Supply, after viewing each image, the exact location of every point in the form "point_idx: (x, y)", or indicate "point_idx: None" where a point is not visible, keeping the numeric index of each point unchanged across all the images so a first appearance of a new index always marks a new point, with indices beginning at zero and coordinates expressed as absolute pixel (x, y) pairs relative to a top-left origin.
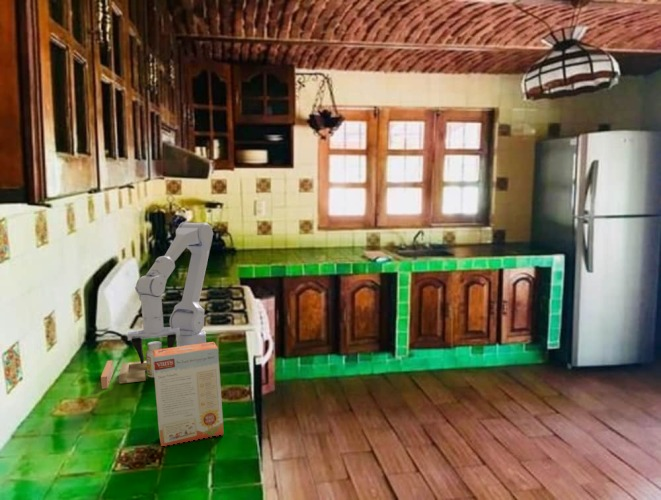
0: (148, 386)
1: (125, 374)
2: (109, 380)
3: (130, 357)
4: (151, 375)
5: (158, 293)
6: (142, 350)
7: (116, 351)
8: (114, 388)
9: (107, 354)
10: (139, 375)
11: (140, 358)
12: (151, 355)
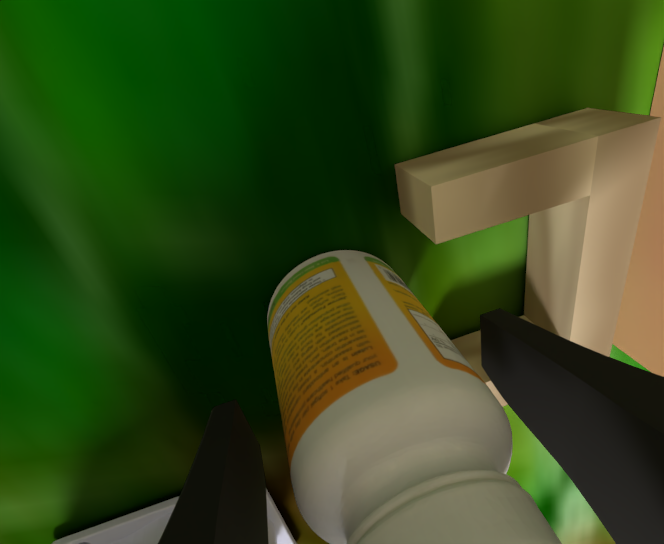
0: (332, 27)
1: (601, 133)
2: (657, 159)
3: None
4: (365, 255)
5: None
6: (563, 463)
7: (581, 525)
8: (620, 10)
9: None
10: (464, 164)
11: (545, 331)
12: (435, 381)
